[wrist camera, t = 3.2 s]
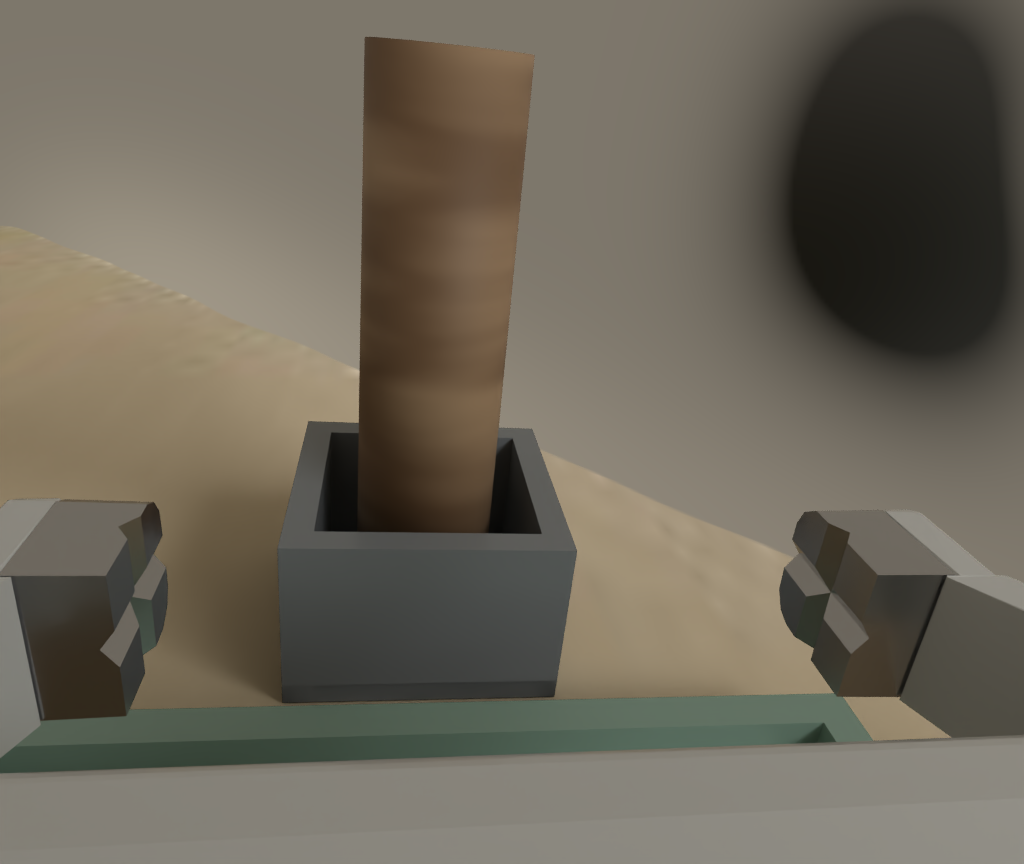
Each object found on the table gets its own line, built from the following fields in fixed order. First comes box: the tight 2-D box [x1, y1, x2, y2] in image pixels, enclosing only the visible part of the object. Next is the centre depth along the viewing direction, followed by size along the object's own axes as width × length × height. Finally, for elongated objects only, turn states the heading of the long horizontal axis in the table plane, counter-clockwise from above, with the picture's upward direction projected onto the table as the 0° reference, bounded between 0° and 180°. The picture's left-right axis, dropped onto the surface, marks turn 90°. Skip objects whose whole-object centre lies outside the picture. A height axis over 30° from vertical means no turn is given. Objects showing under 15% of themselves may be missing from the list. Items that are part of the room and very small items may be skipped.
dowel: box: [357, 37, 534, 533], centre depth 22 cm, size 4×4×16 cm
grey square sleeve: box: [278, 421, 577, 703], centre depth 24 cm, size 8×8×5 cm
